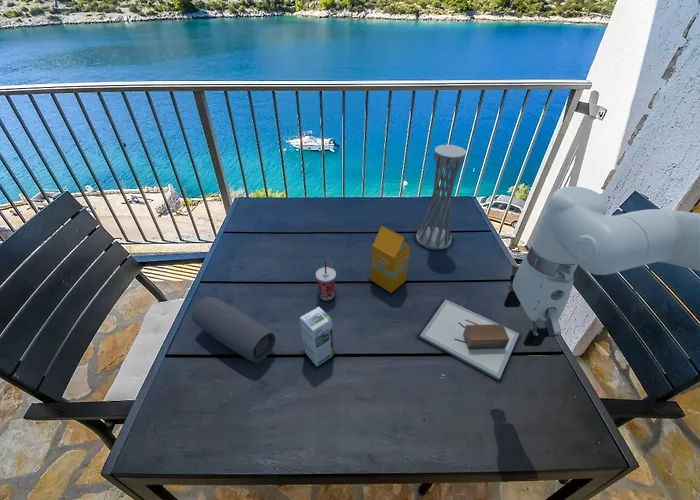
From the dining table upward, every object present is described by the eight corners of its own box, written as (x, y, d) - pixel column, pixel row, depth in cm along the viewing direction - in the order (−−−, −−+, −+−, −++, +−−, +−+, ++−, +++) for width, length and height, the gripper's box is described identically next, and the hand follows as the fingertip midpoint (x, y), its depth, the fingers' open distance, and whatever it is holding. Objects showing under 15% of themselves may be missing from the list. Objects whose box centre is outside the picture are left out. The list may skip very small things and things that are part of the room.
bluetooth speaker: (279, 347, 94) (274, 323, 88) (254, 373, 88) (247, 349, 82) (222, 312, 104) (214, 288, 97) (196, 333, 97) (185, 309, 91)
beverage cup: (313, 298, 108) (310, 264, 99) (323, 285, 112) (320, 252, 104) (331, 304, 106) (329, 270, 97) (340, 291, 110) (339, 257, 102)
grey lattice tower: (449, 252, 126) (471, 161, 104) (413, 245, 129) (426, 156, 107) (453, 232, 136) (473, 145, 114) (418, 226, 139) (432, 140, 117)
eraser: (505, 348, 93) (509, 339, 90) (468, 349, 92) (471, 340, 90) (498, 333, 96) (502, 324, 94) (462, 334, 96) (465, 324, 94)
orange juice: (391, 293, 110) (396, 243, 97) (370, 280, 115) (372, 230, 102) (405, 281, 114) (412, 231, 102) (385, 268, 119) (389, 219, 107)
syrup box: (316, 367, 89) (313, 331, 80) (303, 352, 93) (299, 316, 84) (334, 355, 92) (332, 319, 83) (321, 341, 96) (318, 305, 86)
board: (518, 335, 97) (519, 333, 96) (498, 380, 86) (500, 378, 86) (444, 301, 107) (445, 299, 107) (419, 337, 96) (419, 335, 96)
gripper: (604, 295, 52) (561, 361, 63) (549, 228, 66) (521, 292, 76) (555, 296, 52) (520, 362, 63) (510, 229, 65) (487, 293, 76)
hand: (521, 324), depth 69 cm, fingers open, 9 cm apart
